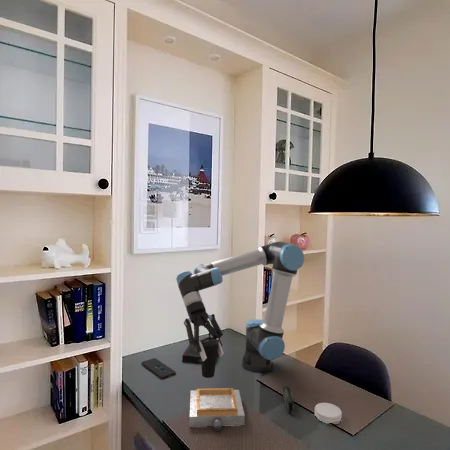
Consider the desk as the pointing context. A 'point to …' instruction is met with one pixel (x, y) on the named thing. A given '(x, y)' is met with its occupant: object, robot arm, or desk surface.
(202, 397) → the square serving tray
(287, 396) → the mobile phone
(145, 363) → the smart home device
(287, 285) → the robot arm
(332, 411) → the coaster
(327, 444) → the desk surface
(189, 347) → the portable cd player
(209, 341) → the drinking cup
